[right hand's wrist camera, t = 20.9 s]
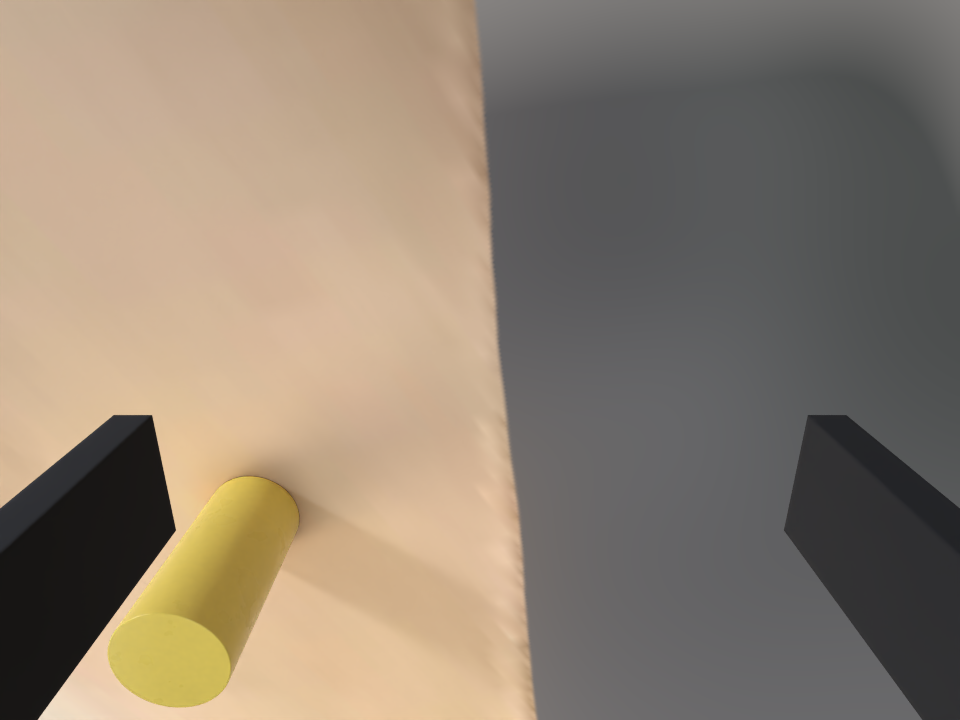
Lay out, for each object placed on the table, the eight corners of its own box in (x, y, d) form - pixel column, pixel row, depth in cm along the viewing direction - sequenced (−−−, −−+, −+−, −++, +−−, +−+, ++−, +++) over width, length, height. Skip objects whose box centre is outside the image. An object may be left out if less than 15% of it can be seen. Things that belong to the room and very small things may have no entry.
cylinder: (221, 554, 45) (126, 711, 33) (200, 479, 43) (91, 618, 31) (306, 548, 45) (242, 703, 33) (290, 472, 43) (215, 609, 31)
